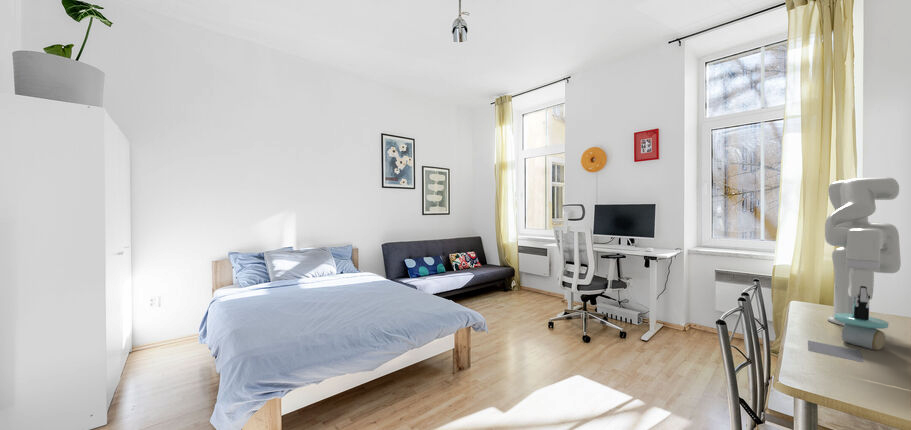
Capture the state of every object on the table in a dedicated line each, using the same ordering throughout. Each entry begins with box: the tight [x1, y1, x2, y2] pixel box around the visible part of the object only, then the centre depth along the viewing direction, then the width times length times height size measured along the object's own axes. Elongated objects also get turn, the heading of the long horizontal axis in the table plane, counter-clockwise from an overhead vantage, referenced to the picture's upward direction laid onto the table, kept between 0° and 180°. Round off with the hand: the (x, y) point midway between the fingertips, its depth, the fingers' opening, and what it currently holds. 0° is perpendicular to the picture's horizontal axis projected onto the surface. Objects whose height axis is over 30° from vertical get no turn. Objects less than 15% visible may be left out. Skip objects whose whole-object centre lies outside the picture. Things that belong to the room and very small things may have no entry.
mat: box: [807, 340, 865, 363], centre depth 114 cm, size 12×12×1 cm
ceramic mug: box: [841, 323, 886, 351], centre depth 118 cm, size 11×8×8 cm
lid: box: [834, 303, 890, 330], centre depth 117 cm, size 12×12×6 cm
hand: (860, 316), depth 117 cm, fingers closed on lid, 3 cm apart
